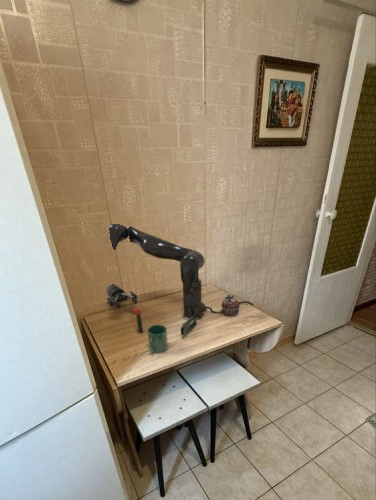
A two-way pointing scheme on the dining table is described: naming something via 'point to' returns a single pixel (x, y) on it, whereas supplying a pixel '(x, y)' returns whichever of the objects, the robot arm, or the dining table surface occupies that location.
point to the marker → (139, 320)
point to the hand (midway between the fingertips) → (127, 304)
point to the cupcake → (230, 306)
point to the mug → (157, 338)
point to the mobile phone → (188, 326)
